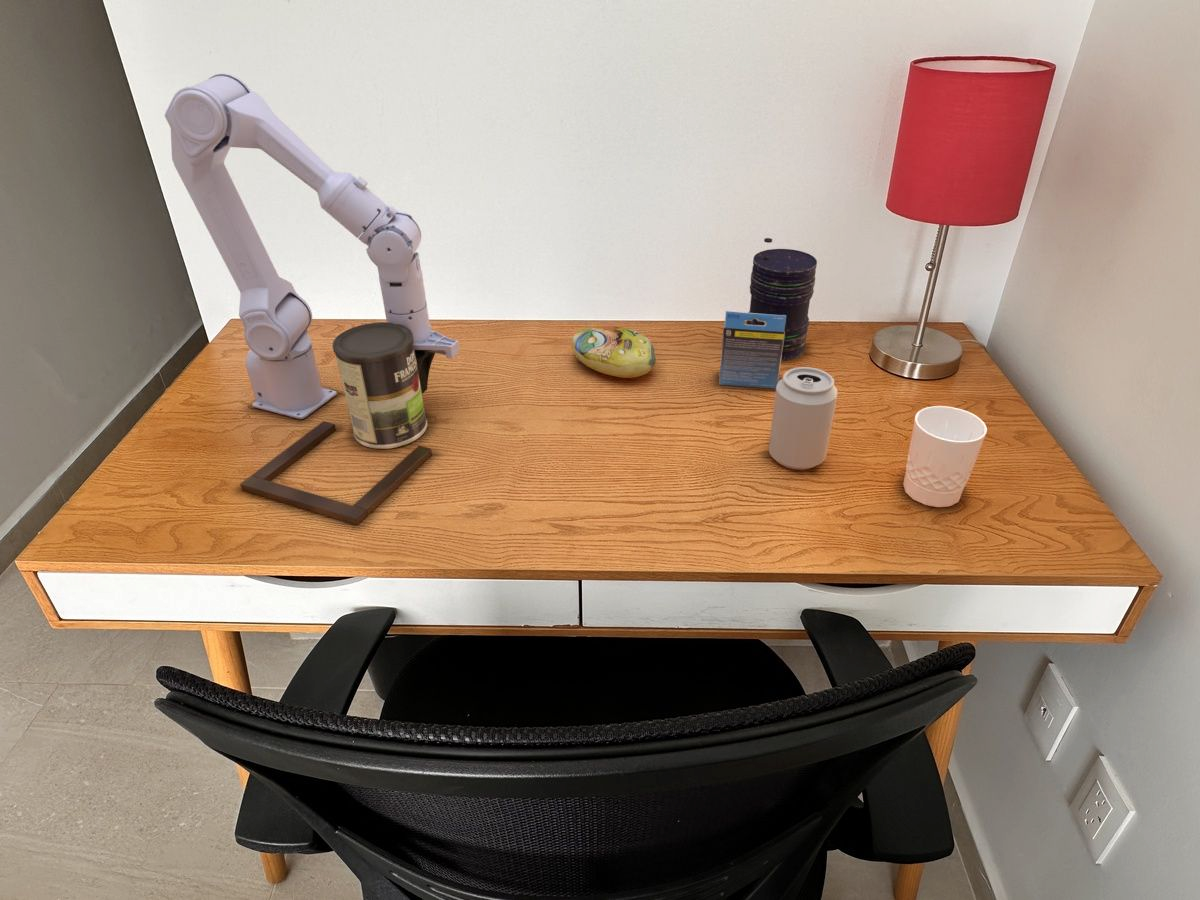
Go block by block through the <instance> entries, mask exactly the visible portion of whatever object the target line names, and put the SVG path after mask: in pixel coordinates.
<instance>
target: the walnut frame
mask: <svg viewBox="0 0 1200 900" xmlns="http://www.w3.org/2000/svg"><path fill="white" fill-rule="evenodd" d="M336 430H337V427H336V424H335V423H333V422H329V421H325V420H323V421H322V422H320V423H319V424H317V425H316V426H315V427H314V428H312V429H311V430H310V431H309V432H307V433H306V434H304V435H303V436H302V437H300V438H299V439H298V440H296V441H295V442H294V443H292V444H290V446H288V447H287V448H286V449H285V450H283V451H282V452H281V453H279V454H278V455H276V456H275V457H274V458H272V459H271V460H270V461H269V462H267V463H266V464H265V465H263V466H262V467H260V468H259V469H258V470H257V471H255V472H253V474H251V475H250V476H249V477H247V478H246V479H244V480H243V481H242V482H241V483H239V487H240V488H241V491H243V492H246V493H250V494H253V495H257V496H259V497H263V498H266V499H269V500H273V501H276V502H280V503H283V504H286V505H290V506H292V507H296V508H299V509H302V510H306V511H309V512H313V513H315V514H319V515H322V516H326V517H329V518H332V519H336V520H339V521H341V522H345V523H349V524H352V525H355V526H358V525H360V524H361V523H362V522H363V521H364V520H365V519H366V518H367V517H368V516H369V515H370V514H371V513H372V512H373V511H374V510H375V509H376V508H377V507H378V506H380V505H381V504H382V503H383V502H384V501H385V500H386V499H387V498H388V497H389V496H390V495H392V493H393V492H394V491H395V490H396V489H398V487H400V486H401V485H402V483H403V484H404V482H405V481H406V480H407V479H408V478H409V477H410V476H411V475H412V474H413V473H414V472H415V471H416V470H418V468H420V467H421V466H422V465H423V464H424V463H425V462H426V461H427V460H428V459H429V458H430V457H431V456H432V455H433V451H432V448H430V447H426V446H422V445H418V446H417V447H415V448H414V449H413V450H412V451H411V452H410V453H409V454H408V455H406V457H404V459H402V460H401V461H400V462H399V463H398V464H397V465H396V466H395V467H393V468H392V470H390V471H389V472H388V473H387V474H386V475H384V477H383V478H382V479H380V480H379V481H378V482H377V483H376V484H374V485H373V486H372V487H371V489H370V490H368V491H367V492H366V493H365V494H364V495H363V496H362V497H361V498H360V499H358V500H357V501H356V502H355V503H354V504H353V505H352V504H349V503H345V502H342V501H338V500H335V499H331V498H328V497H325V496H322V495H318V494H315V493H311V492H308V491H304V490H302V489H298V488H295V487H292V486H291V487H290V486H288V485H284V484H280V483H278V482H274V481H273V480H274V478H276V477H278V476H279V475H280V474H281V473H282V472H283V471H285V470H286V469H287V468H289V467H290V466H291V465H293V464H294V463H295V462H296V461H298V460H300V458H302V457H303V456H304V455H305V454H307V453H308V452H310V451H311V450H312V449H313V448H314V447H316V446H317V445H318V444H319V443H321V442H322V441H323V440H325V439H326V438H327V437H329V436H330V435H331V434H333V433H334V432H335V431H336Z"/></svg>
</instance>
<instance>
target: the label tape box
mask: <svg viewBox="0 0 1200 900" xmlns="http://www.w3.org/2000/svg"><path fill="white" fill-rule="evenodd" d="M724 315H725V317H724V325H723V328H722V342H721V351H720V352H721V353H720V364H719V376H718V377H719V378H718V384H719V385H720V386H728V387H729V386H730V387H747V388H749V387H750V388H762V389H774V390H776V386H777V384H778V382H779V381H780V380H779V378H780V371H781V363H782V361H781V357H782V350H783V343H784V337H785V331H784V329H785V322H786V315H770V314H758V313H748V312H742V311H732V310H725V314H724ZM753 319H756V320H757V321H760V322H764V323H765V325H764V326H760V325H747V324H746V323H745V322H747V320H748V321H752V320H753Z"/></svg>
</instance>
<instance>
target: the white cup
mask: <svg viewBox="0 0 1200 900" xmlns="http://www.w3.org/2000/svg"><path fill="white" fill-rule="evenodd" d="M912 426H913V427H912V431H911V436H910V441H909V447H908V452H907V459H906V467H905V468H906V469H905V474H904V479H903V483H902V484H903V488H904V492H905V493H906V495H908V496H909V497H910V499H912V500H913V501H915V502H918V503H919V504H920V503H921V504H922V505H924V506H928V507H934V508H947V507H948V508H949V507H951V506H954V505H955V504H957V503H959V502H960V499H961V497H962V494H963V492H964V489H965V488H966V485H967V483H968V482H969V479H970V476H971V475H972V472H973V469H974V467H975V466H976V462H977V460H978V457H979V454H980V452H981V448H982V446H983V443H984V441H985V438H986V435H987V433H988V428H987V425H986V423H985V422H984V421H983V420H982V419H981V418H980V417H978V416H977V415H976V414H974V413H972V412H970V411H967V410H965V409H962V408H958V407H955V406H954V407H953V406H948V405H947V406H946V405H935V406H927V407H924V408H922V409H919V410H918V411H917V412H916V413H915V415H914V420H913V425H912Z"/></svg>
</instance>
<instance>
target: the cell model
mask: <svg viewBox="0 0 1200 900" xmlns="http://www.w3.org/2000/svg"><path fill="white" fill-rule="evenodd" d="M571 349H572V352H573V354H574V356H575V358H576V359H577V360H578V361H579V362H580V363H581V364H583V365H585V366H586V367H588V368H590V369H592V370H594V371H595V372H598V373H602V374H604V375H608V376H612V377H617V378H622V379H623V378H625V379H627V378H628V379H629V378H630V379H631V378H638V377H641V376H645V375H646V374H648V373H649V372H651V371H652V369H653V368H654V367H655V365H656V361H657V360H656V351H655V346H654V345H653V343H652V341H651V340H650V339H648V337H647V336H645V335H644V334H643V333H641V332H639V331H637V330H634V329H631V328H627V327H622V326H615V325H605V326H598V327H589V328H584V329H581V330H579V331H577V332H576V333H575V334H574V335H573V337H572V339H571Z"/></svg>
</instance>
